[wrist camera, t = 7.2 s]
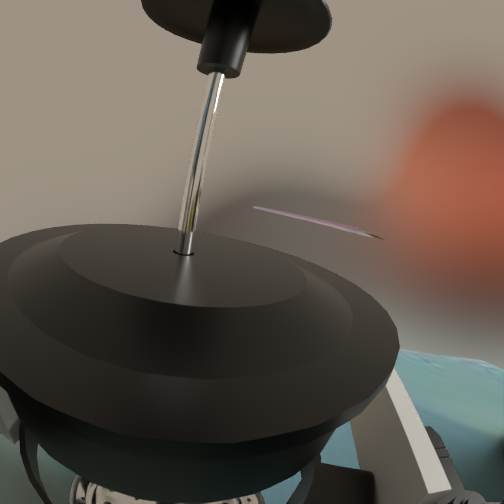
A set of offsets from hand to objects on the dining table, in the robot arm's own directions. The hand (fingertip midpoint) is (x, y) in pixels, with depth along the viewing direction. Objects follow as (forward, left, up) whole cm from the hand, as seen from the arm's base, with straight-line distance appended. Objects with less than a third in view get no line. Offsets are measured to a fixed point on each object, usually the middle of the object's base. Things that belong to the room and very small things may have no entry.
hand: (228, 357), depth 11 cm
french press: (0, +4, -13) cm, 13 cm away
